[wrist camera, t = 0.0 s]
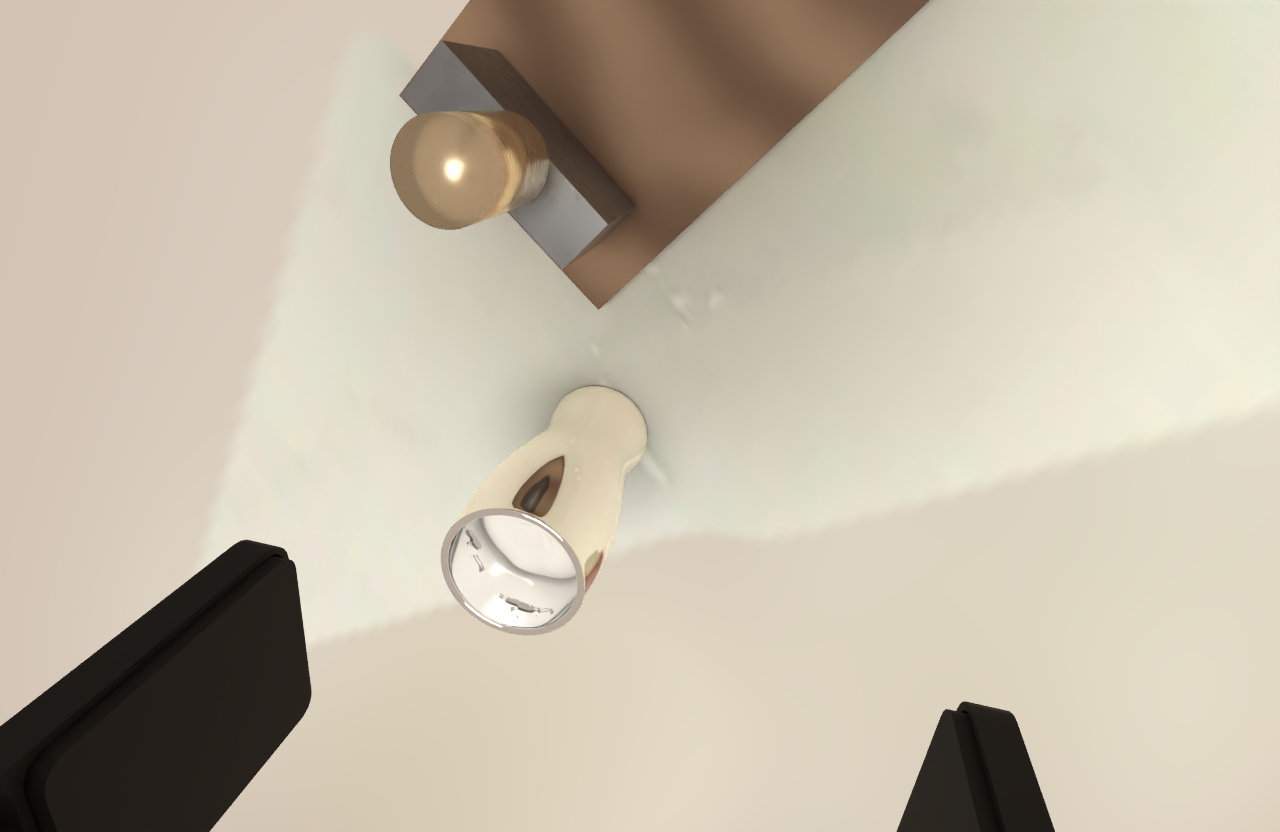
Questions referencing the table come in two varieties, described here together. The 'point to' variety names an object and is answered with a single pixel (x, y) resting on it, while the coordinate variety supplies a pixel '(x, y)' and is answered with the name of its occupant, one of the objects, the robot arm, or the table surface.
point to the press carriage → (499, 156)
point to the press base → (675, 94)
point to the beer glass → (546, 516)
